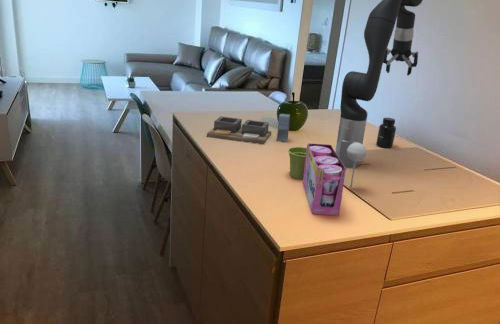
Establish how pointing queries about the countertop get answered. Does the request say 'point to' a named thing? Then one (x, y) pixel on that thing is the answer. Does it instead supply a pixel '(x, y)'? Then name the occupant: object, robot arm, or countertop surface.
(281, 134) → the plug
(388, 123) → the supplement bottle
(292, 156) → the plant pot
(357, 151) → the lollipop
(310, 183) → the gum box
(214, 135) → the socket board
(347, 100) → the robot arm
